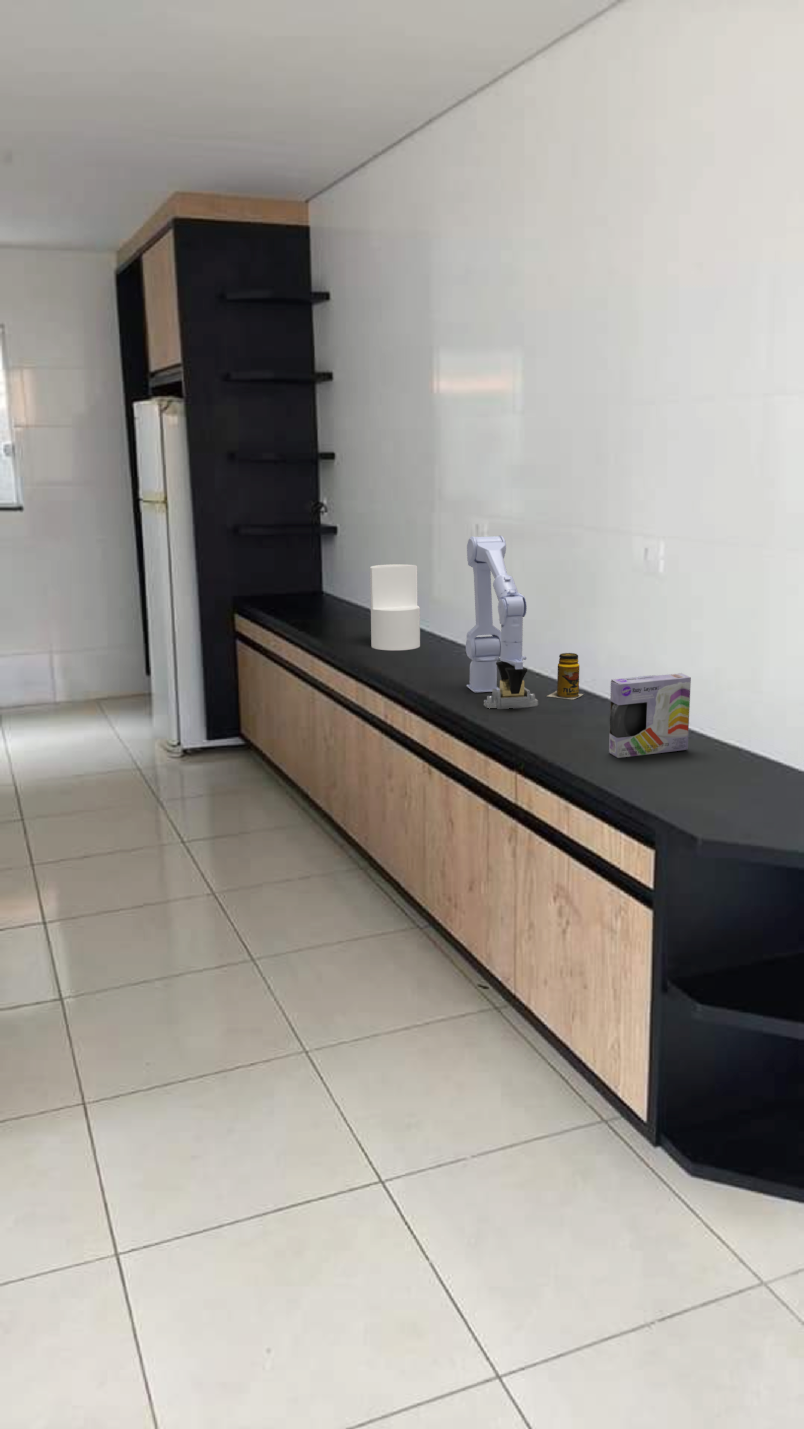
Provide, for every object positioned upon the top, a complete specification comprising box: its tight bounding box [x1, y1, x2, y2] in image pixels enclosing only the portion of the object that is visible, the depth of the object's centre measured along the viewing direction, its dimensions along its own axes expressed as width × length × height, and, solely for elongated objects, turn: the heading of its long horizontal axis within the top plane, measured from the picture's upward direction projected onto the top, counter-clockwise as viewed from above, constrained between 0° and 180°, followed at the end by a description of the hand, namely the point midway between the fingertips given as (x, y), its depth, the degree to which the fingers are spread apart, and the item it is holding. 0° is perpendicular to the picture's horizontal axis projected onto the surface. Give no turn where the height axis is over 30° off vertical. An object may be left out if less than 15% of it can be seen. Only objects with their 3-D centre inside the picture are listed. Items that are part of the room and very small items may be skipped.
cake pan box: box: [608, 672, 692, 759], centre depth 256 cm, size 19×5×18 cm, turn 106°
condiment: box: [547, 652, 584, 700], centre depth 316 cm, size 7×8×12 cm
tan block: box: [499, 679, 525, 698], centre depth 304 cm, size 3×6×6 cm, turn 101°
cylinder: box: [369, 563, 421, 651], centre depth 396 cm, size 17×17×28 cm
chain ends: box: [483, 686, 539, 710], centre depth 305 cm, size 6×14×4 cm, turn 101°
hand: (511, 690), depth 304 cm, fingers open, 7 cm apart
